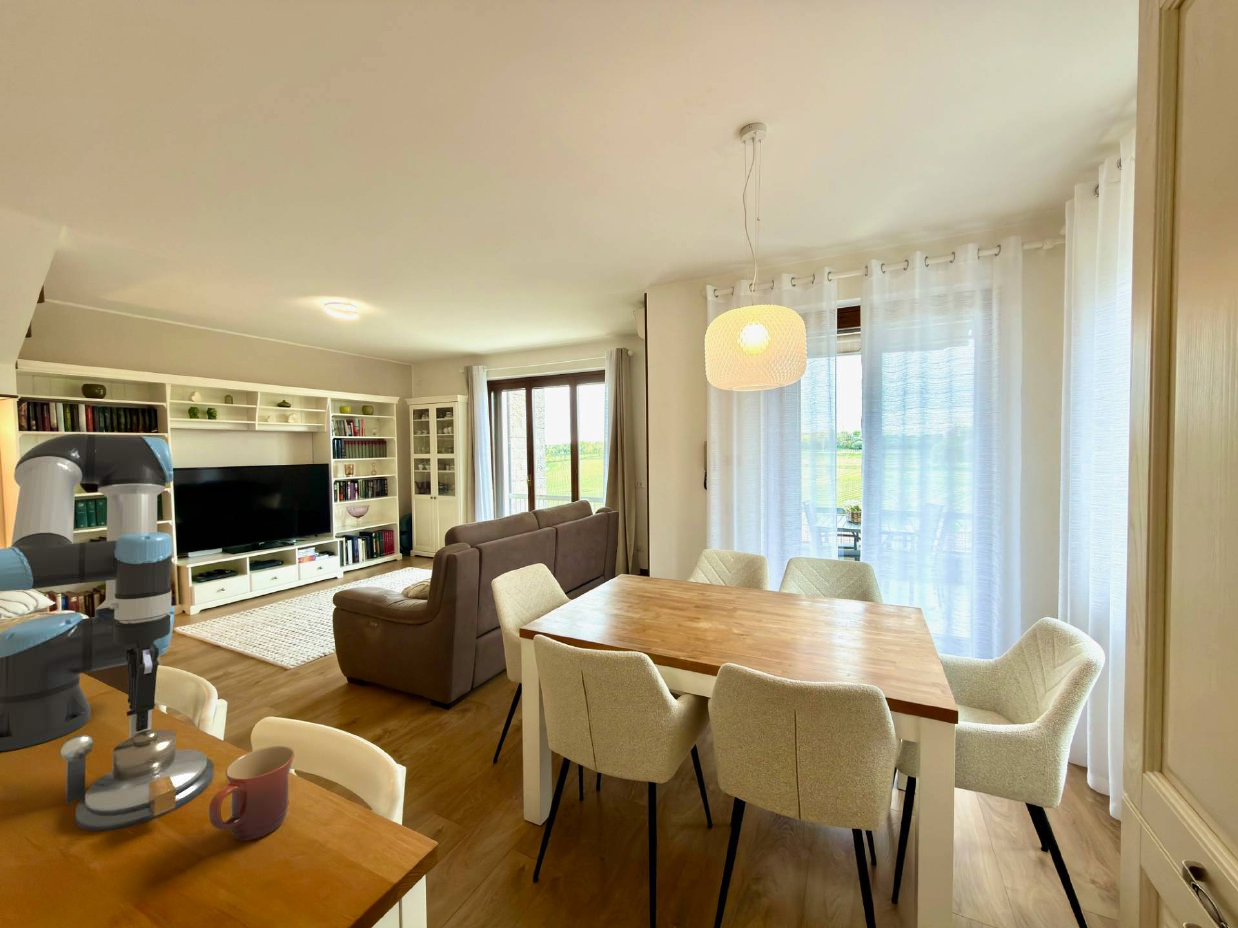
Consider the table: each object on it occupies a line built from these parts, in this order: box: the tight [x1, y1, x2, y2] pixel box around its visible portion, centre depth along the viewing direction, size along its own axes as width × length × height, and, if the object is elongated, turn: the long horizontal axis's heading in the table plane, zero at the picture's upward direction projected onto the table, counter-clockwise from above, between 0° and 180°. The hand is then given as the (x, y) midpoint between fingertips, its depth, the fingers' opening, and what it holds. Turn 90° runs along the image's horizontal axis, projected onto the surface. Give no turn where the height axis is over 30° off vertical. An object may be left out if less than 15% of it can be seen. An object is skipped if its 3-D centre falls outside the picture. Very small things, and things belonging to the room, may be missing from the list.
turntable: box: [85, 748, 208, 816], centre depth 82 cm, size 20×15×4 cm
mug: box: [208, 745, 295, 841], centre depth 75 cm, size 12×9×10 cm
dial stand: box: [60, 734, 94, 805], centre depth 82 cm, size 3×4×11 cm
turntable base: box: [74, 757, 215, 832], centre depth 83 cm, size 17×17×2 cm
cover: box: [112, 728, 177, 779], centre depth 86 cm, size 8×8×6 cm
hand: (140, 745), depth 89 cm, fingers closed
